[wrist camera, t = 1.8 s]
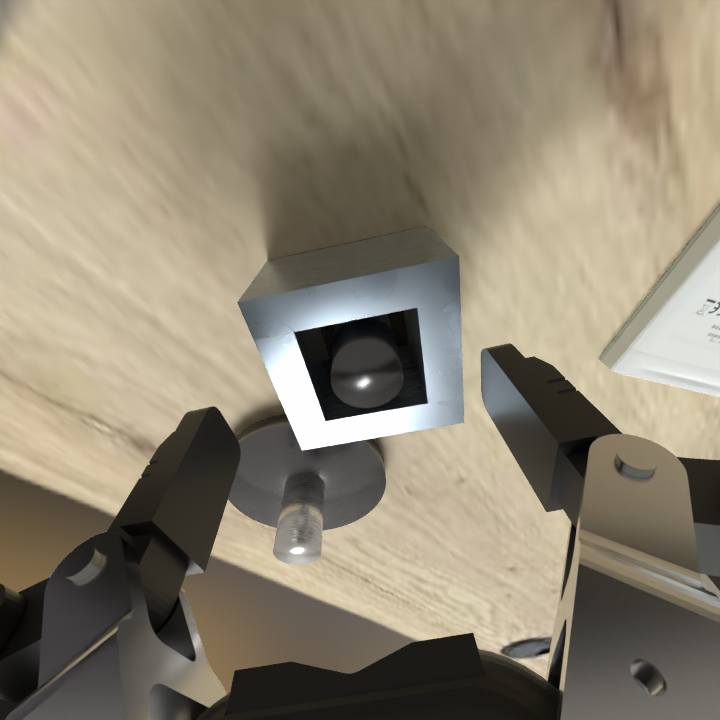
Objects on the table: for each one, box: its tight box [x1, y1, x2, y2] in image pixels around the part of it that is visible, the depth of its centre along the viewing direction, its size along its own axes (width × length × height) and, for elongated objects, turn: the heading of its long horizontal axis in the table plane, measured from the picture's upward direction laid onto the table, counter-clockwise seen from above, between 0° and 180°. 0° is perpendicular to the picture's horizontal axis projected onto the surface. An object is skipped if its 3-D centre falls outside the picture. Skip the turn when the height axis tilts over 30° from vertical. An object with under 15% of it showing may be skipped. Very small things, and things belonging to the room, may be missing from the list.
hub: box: [228, 415, 386, 564], centre depth 17 cm, size 9×9×4 cm
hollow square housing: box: [237, 226, 464, 450], centre depth 12 cm, size 6×6×4 cm
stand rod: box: [331, 313, 404, 408], centre depth 12 cm, size 2×2×4 cm
